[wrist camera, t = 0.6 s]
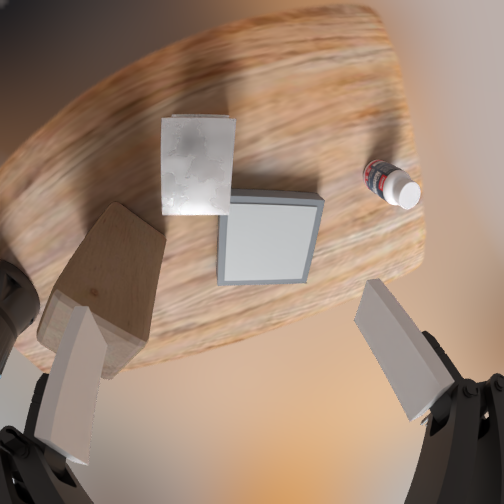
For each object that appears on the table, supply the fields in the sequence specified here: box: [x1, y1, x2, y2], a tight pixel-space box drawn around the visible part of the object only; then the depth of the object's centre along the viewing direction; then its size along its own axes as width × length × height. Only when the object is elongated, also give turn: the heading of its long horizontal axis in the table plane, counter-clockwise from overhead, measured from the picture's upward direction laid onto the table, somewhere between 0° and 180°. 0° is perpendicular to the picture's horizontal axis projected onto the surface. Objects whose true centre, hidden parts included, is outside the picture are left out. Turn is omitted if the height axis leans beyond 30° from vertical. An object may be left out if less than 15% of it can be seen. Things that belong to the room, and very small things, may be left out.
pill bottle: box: [363, 160, 420, 209], centre depth 35 cm, size 5×5×9 cm
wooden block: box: [37, 202, 166, 380], centre depth 29 cm, size 10×10×20 cm
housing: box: [161, 114, 236, 215], centre depth 29 cm, size 7×10×9 cm
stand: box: [216, 189, 325, 286], centre depth 39 cm, size 14×14×3 cm
